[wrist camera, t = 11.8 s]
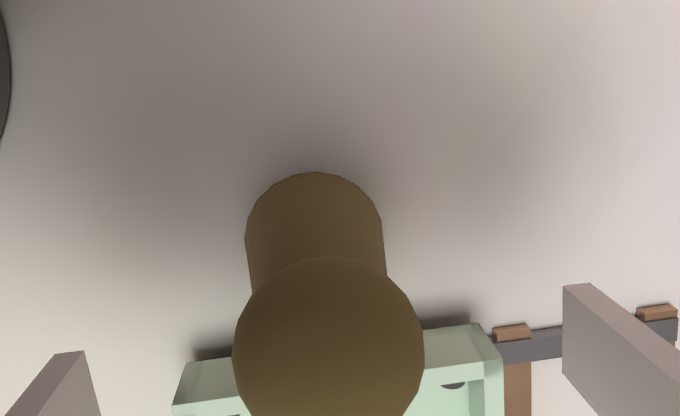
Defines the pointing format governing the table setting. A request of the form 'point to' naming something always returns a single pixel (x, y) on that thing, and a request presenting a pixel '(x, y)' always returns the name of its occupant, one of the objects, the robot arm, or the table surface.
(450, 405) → the shallow green tray
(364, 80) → the table surface
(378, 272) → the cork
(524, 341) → the rails
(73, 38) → the table surface
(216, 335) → the table surface
